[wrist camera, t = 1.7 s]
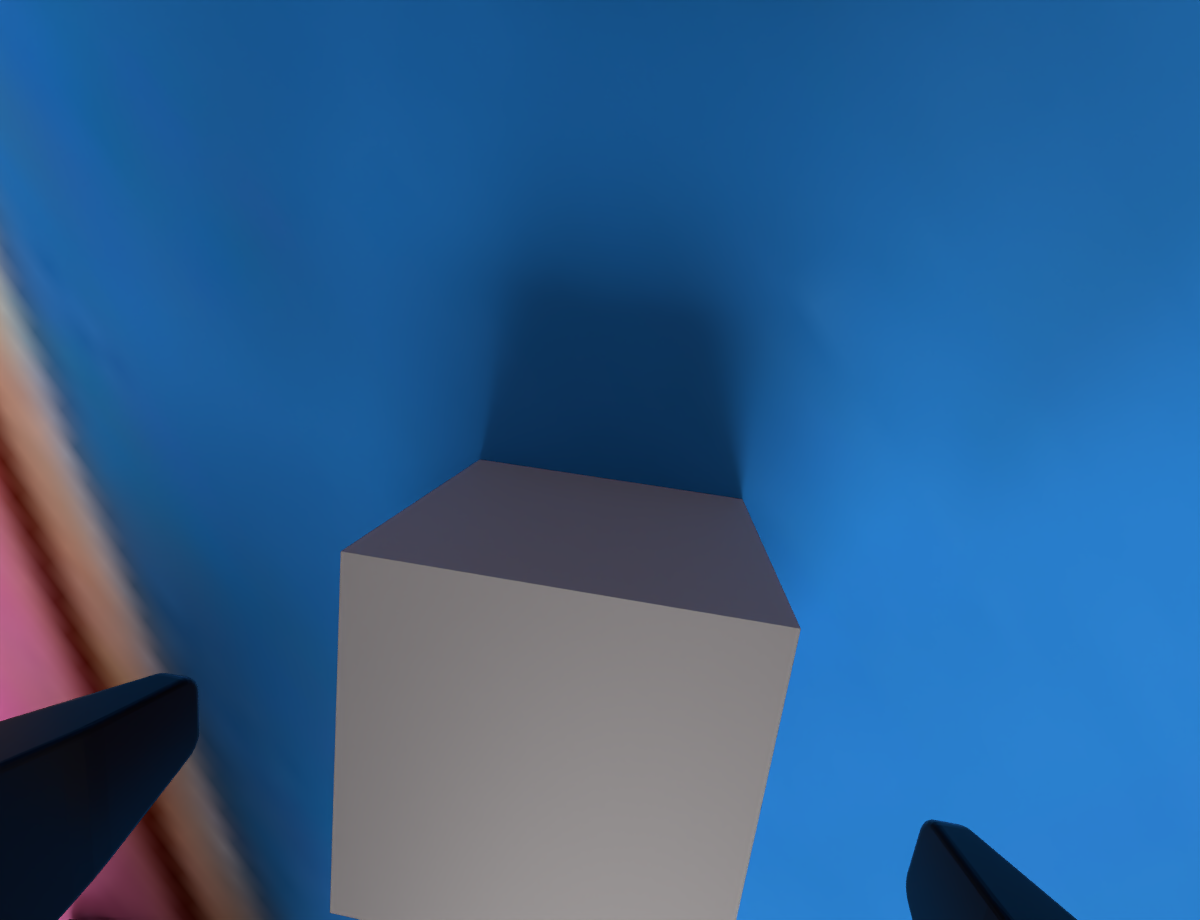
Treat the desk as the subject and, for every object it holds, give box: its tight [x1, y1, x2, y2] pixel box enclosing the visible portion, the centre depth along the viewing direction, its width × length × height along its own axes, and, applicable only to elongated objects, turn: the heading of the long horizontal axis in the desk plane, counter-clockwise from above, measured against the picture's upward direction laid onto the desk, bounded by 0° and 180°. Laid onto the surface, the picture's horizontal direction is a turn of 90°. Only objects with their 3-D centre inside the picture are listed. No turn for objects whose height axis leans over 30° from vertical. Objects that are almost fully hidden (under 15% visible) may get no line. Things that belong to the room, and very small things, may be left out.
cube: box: [330, 460, 800, 920], centre depth 9 cm, size 5×5×5 cm
